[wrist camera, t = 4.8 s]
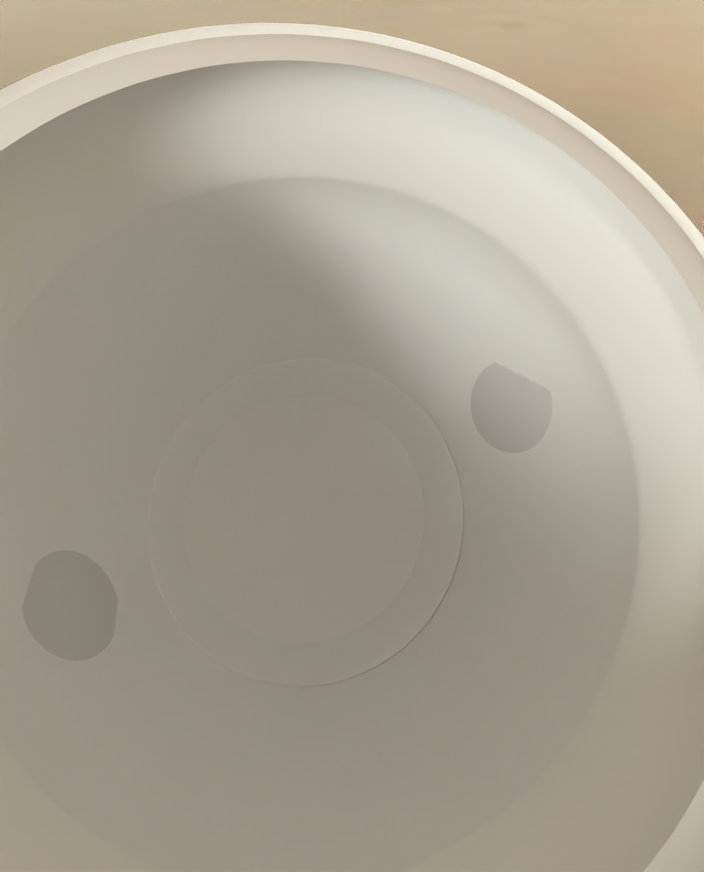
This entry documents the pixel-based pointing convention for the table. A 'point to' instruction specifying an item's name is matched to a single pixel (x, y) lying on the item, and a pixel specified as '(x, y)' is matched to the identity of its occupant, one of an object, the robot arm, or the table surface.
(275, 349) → the jar
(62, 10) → the table surface
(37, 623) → the robot arm
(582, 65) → the table surface
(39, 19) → the table surface
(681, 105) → the table surface
